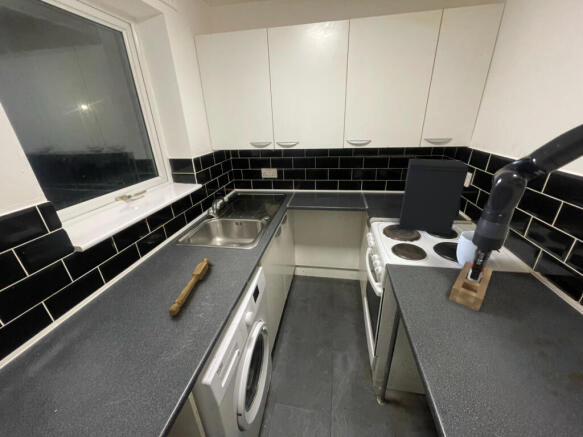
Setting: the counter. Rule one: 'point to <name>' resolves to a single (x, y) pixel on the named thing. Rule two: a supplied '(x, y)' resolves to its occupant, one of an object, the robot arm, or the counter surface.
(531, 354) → the counter surface
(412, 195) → the tall black box
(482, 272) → the red capped shaker
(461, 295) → the holder
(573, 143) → the robot arm
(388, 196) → the counter surface
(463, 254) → the mug
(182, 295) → the tap handle
